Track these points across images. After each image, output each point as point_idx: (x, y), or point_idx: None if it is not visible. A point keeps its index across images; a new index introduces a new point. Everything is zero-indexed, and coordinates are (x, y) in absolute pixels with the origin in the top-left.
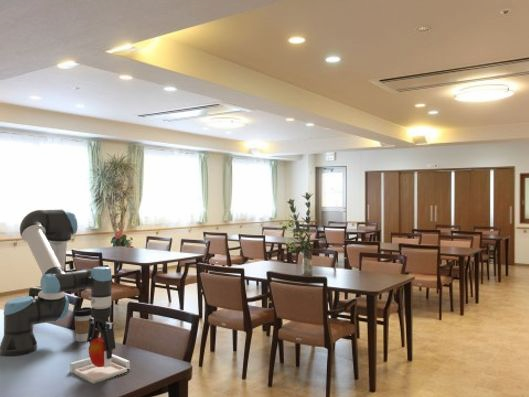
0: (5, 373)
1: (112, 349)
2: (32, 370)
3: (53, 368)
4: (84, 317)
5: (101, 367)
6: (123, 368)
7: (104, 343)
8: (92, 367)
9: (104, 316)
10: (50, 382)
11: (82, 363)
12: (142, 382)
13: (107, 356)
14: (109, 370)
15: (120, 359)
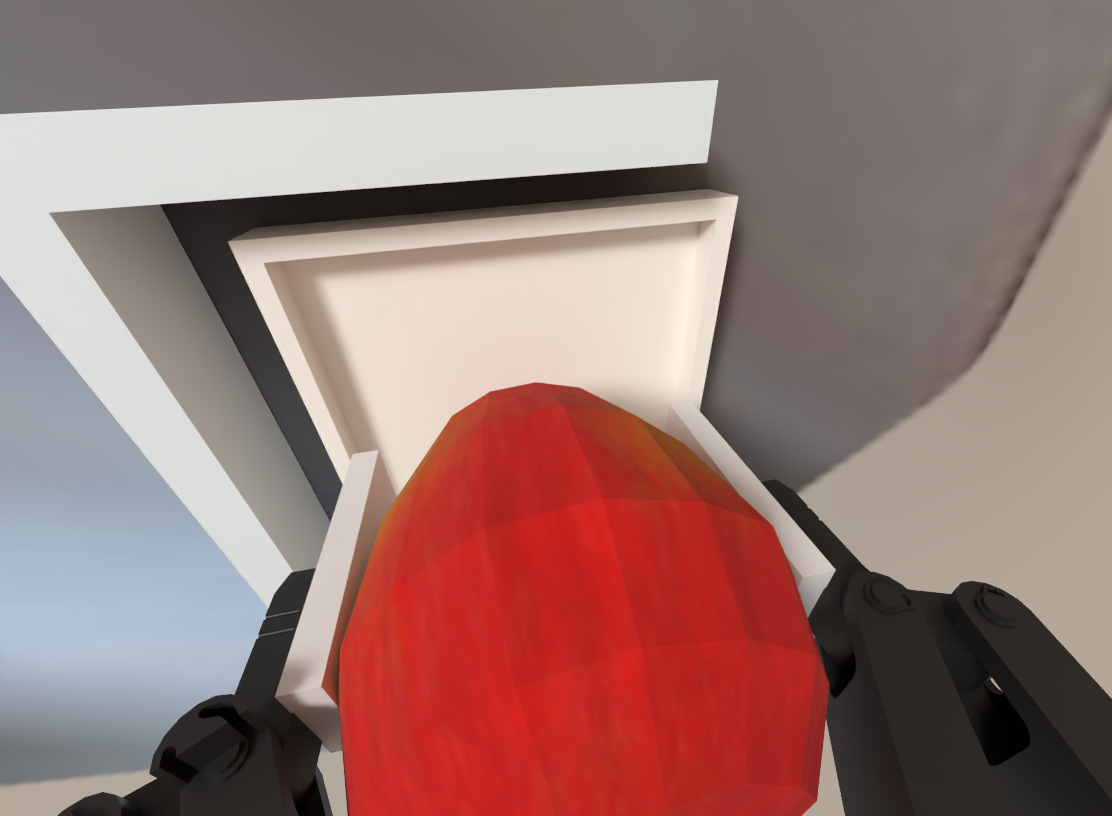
0: (125, 770)
1: (747, 503)
2: (126, 699)
3: (137, 621)
4: None
5: (410, 364)
6: (685, 219)
7: (854, 784)
8: (351, 430)
9: None
10: None
11: (289, 530)
12: (994, 208)
13: None
14: (559, 336)
15: (535, 170)
